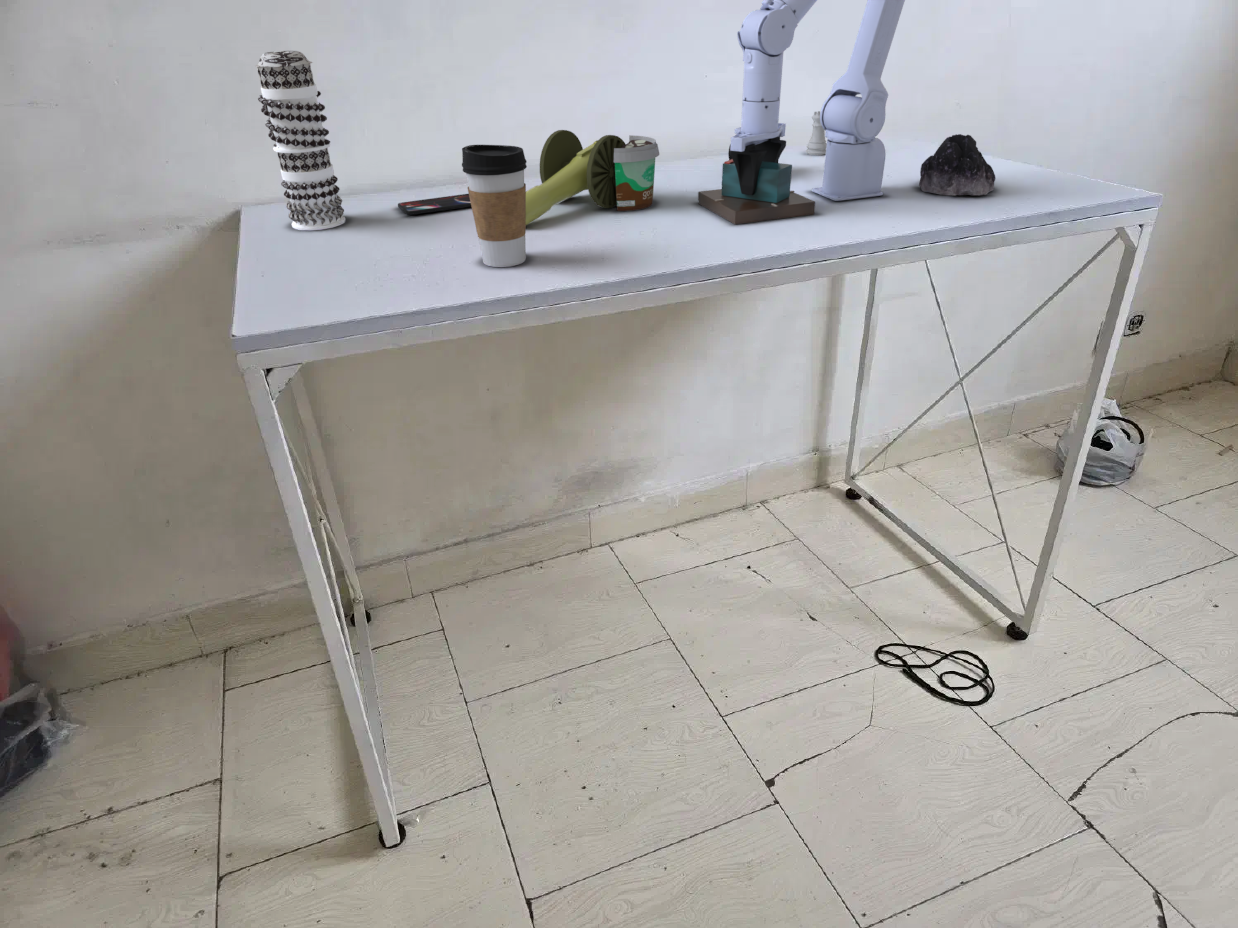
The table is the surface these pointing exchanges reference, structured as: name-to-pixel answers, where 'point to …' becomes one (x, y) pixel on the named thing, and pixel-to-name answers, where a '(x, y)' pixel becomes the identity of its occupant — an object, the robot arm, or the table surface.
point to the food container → (635, 173)
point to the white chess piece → (817, 137)
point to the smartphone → (435, 204)
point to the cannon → (574, 172)
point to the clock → (754, 207)
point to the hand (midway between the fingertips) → (755, 190)
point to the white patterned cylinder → (299, 140)
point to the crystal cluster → (957, 169)
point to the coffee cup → (498, 201)
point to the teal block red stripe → (759, 182)
